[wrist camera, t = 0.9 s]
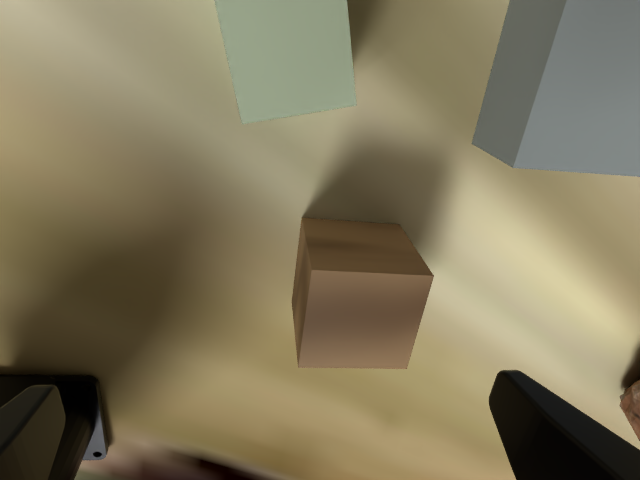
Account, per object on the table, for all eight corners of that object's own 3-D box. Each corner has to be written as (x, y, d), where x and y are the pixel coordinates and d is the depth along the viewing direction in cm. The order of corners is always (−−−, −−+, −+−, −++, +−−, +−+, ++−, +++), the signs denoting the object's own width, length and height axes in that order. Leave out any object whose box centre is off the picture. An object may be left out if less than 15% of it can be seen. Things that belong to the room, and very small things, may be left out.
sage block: (338, 89, 18) (356, 105, 14) (246, 104, 18) (241, 124, 14) (327, -19, 16) (344, -31, 13) (223, -4, 16) (212, -11, 12)
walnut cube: (380, 303, 24) (406, 368, 19) (291, 300, 23) (298, 367, 18) (398, 223, 21) (433, 276, 17) (301, 216, 21) (311, 269, 16)
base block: (616, 153, 21) (686, 180, 18) (469, 142, 20) (512, 167, 16) (696, -33, 18) (804, -47, 14) (522, -61, 16) (593, -83, 13)
